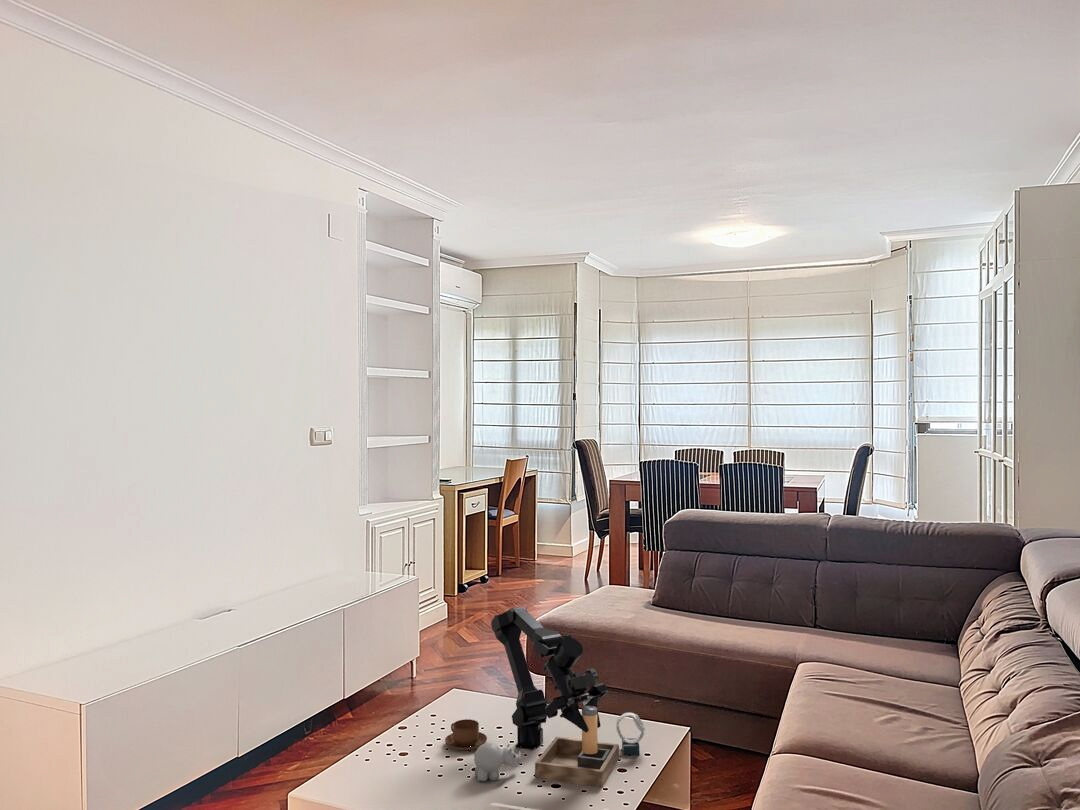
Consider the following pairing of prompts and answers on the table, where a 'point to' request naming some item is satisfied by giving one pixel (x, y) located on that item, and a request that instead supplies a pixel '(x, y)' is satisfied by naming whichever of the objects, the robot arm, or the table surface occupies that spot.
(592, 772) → the walled box
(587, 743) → the grey-capped orange cylinder
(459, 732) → the cup and saucer
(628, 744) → the watch
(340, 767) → the table surface
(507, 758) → the chubby cartoon animal
